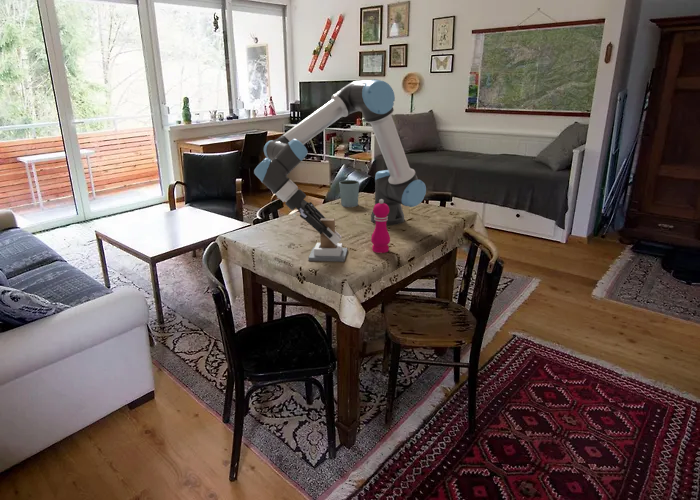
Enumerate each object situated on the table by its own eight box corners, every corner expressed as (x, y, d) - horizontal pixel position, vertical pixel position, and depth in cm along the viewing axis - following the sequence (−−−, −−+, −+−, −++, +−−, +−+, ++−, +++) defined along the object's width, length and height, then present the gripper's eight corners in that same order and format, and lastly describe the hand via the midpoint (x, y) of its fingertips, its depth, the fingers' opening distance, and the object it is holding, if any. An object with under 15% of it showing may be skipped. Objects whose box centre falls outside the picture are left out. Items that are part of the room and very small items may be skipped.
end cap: (347, 250, 177) (347, 241, 176) (344, 261, 167) (344, 251, 165) (313, 249, 178) (313, 240, 177) (308, 260, 168) (308, 251, 166)
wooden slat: (335, 249, 173) (334, 218, 168) (334, 252, 170) (333, 220, 166) (321, 249, 173) (321, 218, 169) (320, 251, 171) (320, 220, 166)
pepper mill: (369, 247, 180) (370, 196, 173) (388, 246, 181) (389, 196, 174) (372, 254, 173) (372, 201, 166) (391, 253, 174) (392, 201, 167)
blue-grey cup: (363, 204, 240) (363, 181, 235) (350, 208, 233) (350, 185, 228) (348, 201, 246) (348, 179, 242) (335, 205, 239) (334, 182, 235)
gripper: (289, 197, 174) (334, 240, 178) (279, 208, 159) (328, 255, 164) (302, 183, 172) (347, 227, 176) (294, 193, 157) (343, 241, 161)
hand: (338, 240), depth 170 cm, fingers open, 3 cm apart
